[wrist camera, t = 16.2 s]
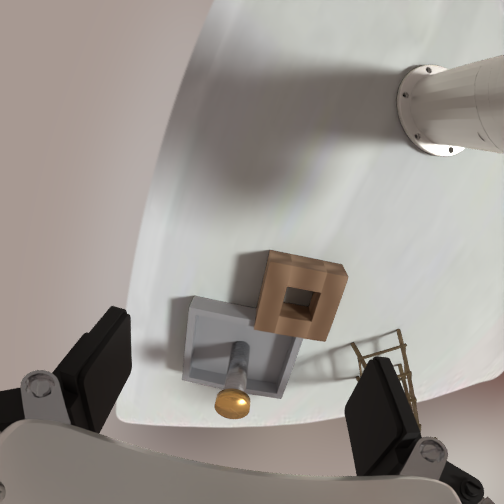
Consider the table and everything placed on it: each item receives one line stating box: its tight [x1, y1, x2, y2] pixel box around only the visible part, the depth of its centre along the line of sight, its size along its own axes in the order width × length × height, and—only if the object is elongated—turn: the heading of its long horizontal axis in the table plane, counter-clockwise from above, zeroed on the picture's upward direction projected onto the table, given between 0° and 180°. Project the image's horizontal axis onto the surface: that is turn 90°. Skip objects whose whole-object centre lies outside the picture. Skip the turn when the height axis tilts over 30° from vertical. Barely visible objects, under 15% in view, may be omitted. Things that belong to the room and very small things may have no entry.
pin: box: [215, 341, 250, 419], centre depth 41 cm, size 4×4×12 cm
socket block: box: [254, 250, 348, 342], centre depth 42 cm, size 10×10×4 cm
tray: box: [182, 296, 303, 399], centre depth 46 cm, size 16×14×3 cm
